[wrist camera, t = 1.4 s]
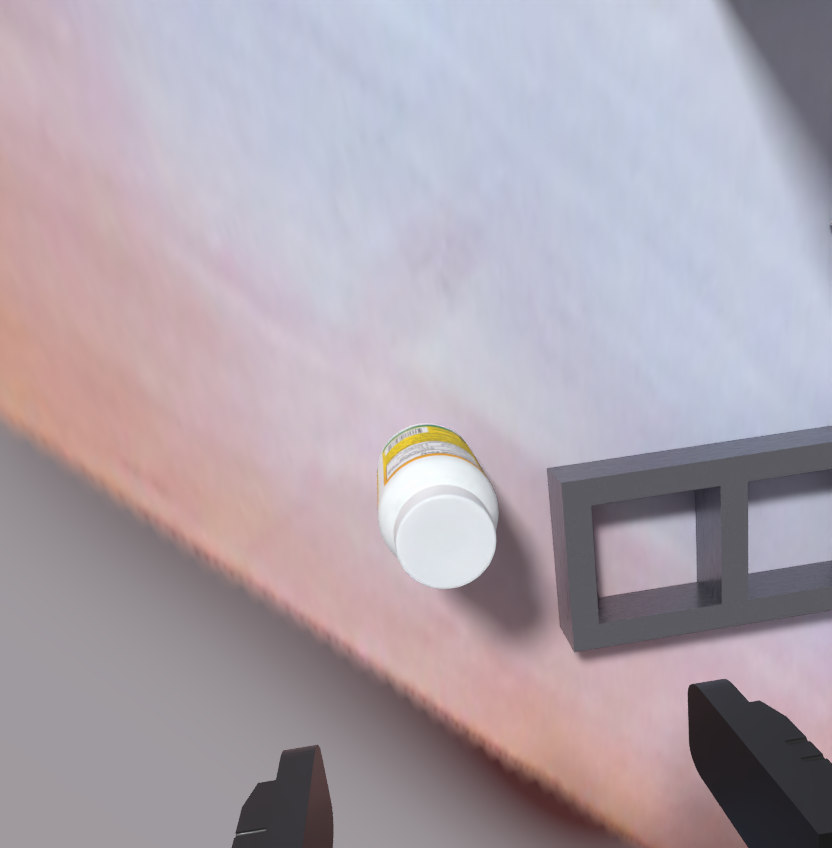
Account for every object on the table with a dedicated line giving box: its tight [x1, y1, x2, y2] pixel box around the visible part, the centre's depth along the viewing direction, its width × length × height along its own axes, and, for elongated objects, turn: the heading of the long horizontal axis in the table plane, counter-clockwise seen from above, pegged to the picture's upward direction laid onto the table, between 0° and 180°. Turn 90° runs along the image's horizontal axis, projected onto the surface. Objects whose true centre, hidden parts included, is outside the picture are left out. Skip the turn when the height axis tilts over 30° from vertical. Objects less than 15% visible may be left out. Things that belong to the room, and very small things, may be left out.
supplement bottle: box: [377, 423, 499, 589], centre depth 27 cm, size 5×5×10 cm
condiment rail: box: [547, 426, 832, 652], centre depth 32 cm, size 10×18×2 cm, turn 98°
